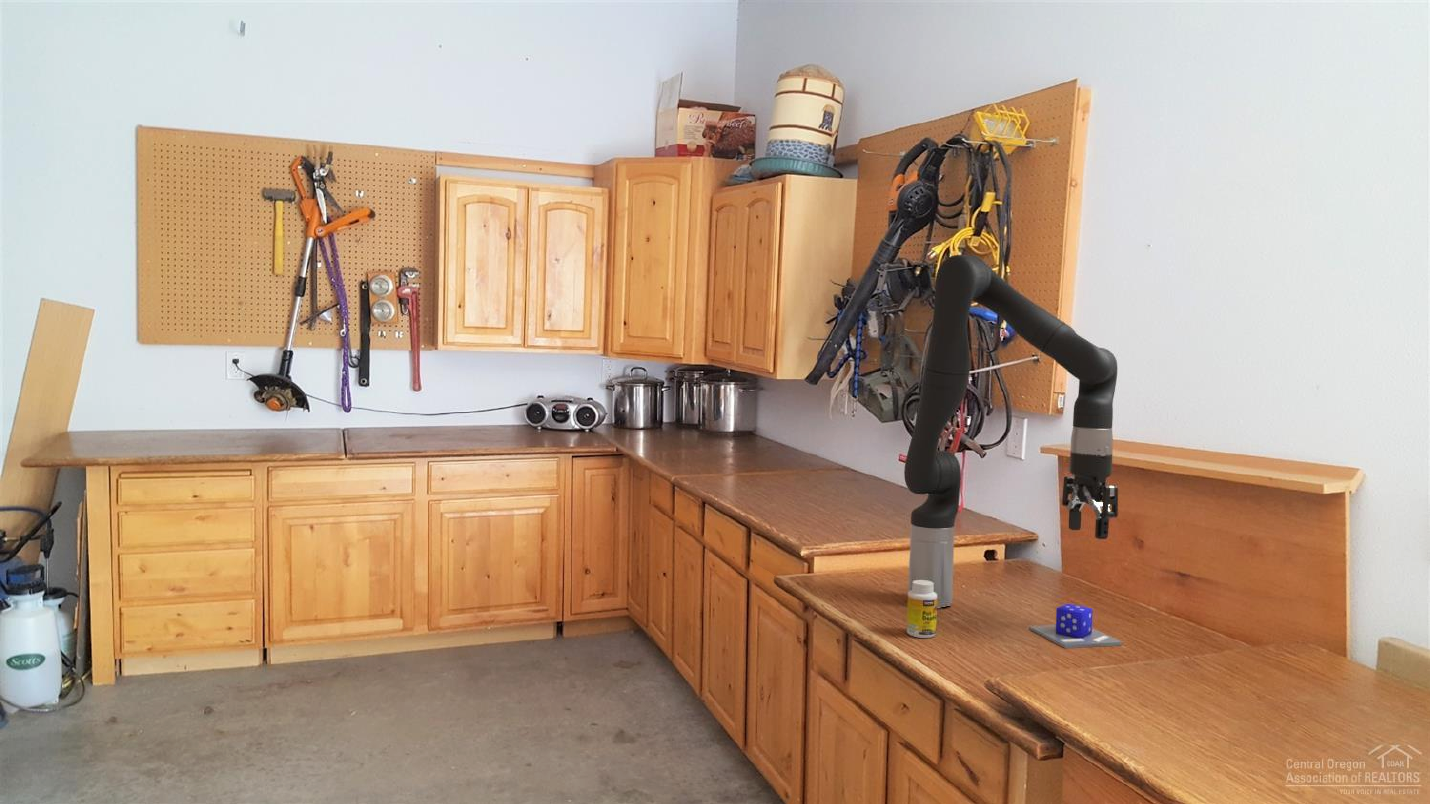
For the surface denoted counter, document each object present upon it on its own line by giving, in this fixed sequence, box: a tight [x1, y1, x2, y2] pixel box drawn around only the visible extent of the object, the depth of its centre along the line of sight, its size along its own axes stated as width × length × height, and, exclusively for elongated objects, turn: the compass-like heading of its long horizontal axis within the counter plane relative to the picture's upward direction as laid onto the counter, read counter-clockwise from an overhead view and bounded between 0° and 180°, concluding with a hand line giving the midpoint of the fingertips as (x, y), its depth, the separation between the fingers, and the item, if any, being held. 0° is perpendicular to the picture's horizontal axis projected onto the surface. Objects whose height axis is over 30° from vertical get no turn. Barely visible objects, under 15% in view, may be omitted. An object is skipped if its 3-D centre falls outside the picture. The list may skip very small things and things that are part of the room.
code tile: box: [1028, 624, 1123, 649], centre depth 174 cm, size 12×12×1 cm
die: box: [1055, 603, 1094, 639], centre depth 174 cm, size 5×5×5 cm
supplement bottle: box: [906, 580, 938, 639], centre depth 174 cm, size 6×6×10 cm
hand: (1087, 534), depth 175 cm, fingers open, 8 cm apart
